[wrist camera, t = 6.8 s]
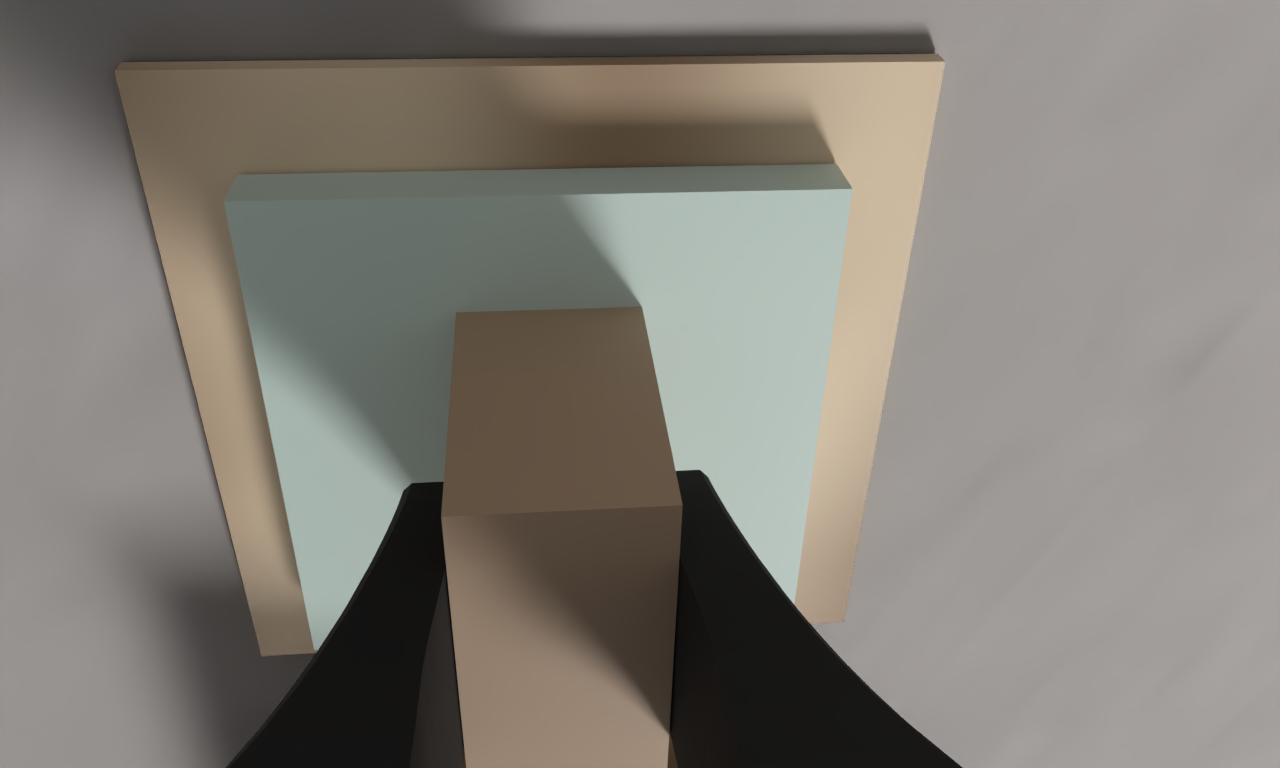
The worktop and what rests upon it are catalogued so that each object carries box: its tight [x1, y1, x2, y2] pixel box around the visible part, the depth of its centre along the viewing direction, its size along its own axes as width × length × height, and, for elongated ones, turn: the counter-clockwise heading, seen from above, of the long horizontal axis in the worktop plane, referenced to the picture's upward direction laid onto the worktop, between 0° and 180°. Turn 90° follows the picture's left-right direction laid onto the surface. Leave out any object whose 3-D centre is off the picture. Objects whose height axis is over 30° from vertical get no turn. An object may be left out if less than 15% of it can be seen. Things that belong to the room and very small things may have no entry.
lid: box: [224, 164, 853, 768], centre depth 14 cm, size 8×8×5 cm
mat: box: [114, 54, 945, 656], centre depth 16 cm, size 10×10×1 cm
